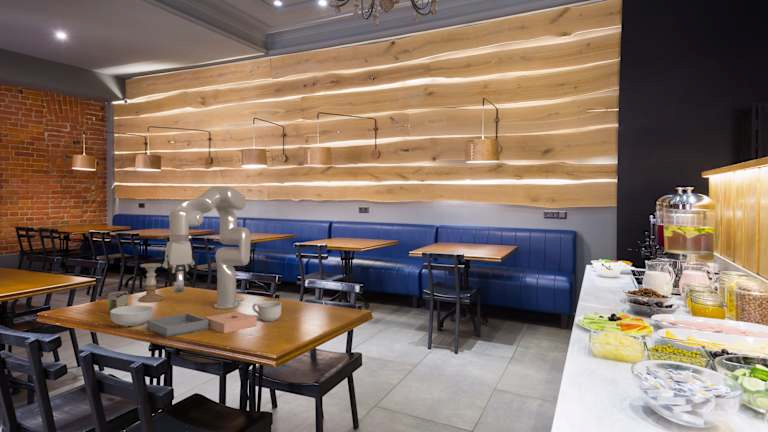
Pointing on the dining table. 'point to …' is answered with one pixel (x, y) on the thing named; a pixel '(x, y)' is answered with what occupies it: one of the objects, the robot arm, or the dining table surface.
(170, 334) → the tray
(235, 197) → the robot arm
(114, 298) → the food container
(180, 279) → the pin
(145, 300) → the candle holder
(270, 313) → the teacup
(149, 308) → the cereal bowl
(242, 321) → the hitch block
